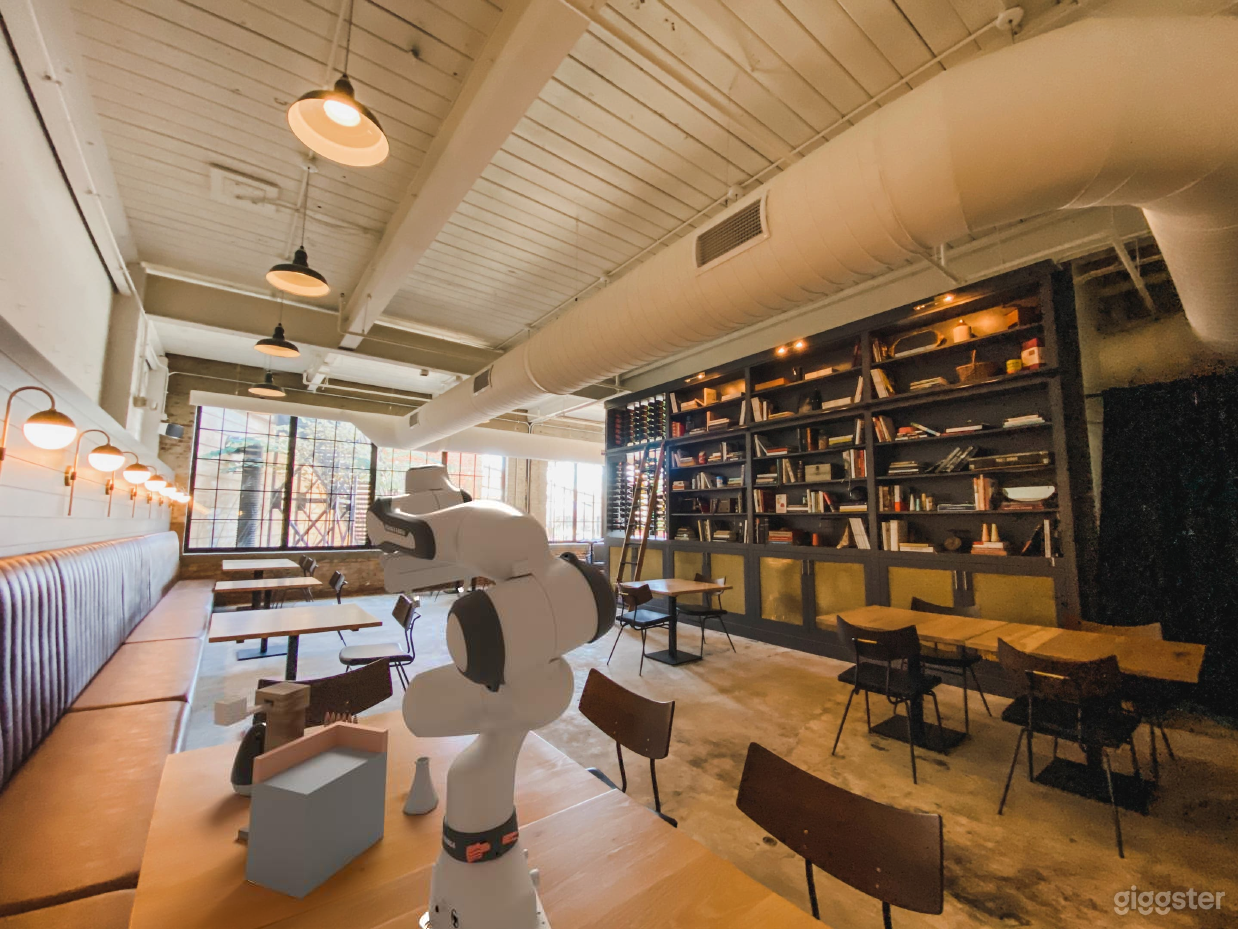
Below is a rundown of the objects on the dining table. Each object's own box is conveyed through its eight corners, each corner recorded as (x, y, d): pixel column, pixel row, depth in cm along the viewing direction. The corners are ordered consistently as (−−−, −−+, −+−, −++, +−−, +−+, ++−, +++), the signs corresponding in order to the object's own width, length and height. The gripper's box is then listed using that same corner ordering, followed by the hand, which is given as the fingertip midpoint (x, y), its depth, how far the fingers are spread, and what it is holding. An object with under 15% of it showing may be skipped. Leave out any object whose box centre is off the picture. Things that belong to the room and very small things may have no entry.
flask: (426, 817, 108) (428, 768, 109) (396, 814, 110) (398, 765, 111) (444, 799, 115) (445, 753, 116) (415, 796, 117) (417, 750, 118)
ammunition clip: (319, 759, 135) (321, 712, 136) (324, 756, 137) (327, 710, 138) (353, 763, 133) (356, 715, 134) (358, 760, 135) (361, 713, 136)
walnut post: (280, 850, 98) (290, 695, 101) (237, 837, 102) (248, 689, 105) (317, 827, 105) (325, 683, 108) (276, 816, 109) (285, 678, 112)
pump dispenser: (222, 806, 113) (228, 735, 115) (235, 784, 122) (240, 718, 124) (277, 796, 117) (281, 727, 119) (285, 776, 126) (289, 712, 128)
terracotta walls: (307, 794, 87) (308, 769, 87) (252, 781, 91) (254, 758, 92) (387, 750, 104) (388, 729, 104) (337, 740, 108) (338, 721, 109)
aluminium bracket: (226, 726, 93) (227, 704, 94) (214, 724, 95) (214, 702, 95) (299, 696, 107) (300, 677, 107) (287, 694, 108) (288, 675, 109)
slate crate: (301, 899, 85) (307, 794, 87) (245, 880, 89) (252, 781, 91) (383, 836, 102) (387, 750, 104) (333, 823, 106) (337, 740, 108)
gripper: (377, 555, 97) (386, 620, 100) (485, 537, 105) (490, 598, 108) (378, 543, 103) (386, 605, 106) (480, 527, 111) (485, 585, 114)
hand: (440, 601), depth 107 cm, fingers open, 8 cm apart
